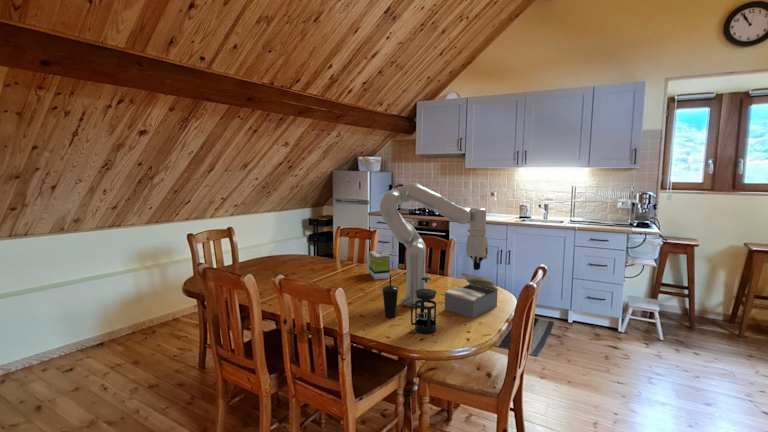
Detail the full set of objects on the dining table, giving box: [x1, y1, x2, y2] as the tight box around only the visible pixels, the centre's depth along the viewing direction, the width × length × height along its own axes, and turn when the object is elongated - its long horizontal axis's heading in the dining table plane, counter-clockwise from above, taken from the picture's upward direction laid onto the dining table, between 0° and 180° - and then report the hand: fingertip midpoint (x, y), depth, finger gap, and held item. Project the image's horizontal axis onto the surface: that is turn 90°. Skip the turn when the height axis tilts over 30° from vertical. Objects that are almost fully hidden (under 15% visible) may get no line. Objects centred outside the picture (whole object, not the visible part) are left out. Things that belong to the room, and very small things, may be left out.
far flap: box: [461, 272, 499, 292], centre depth 207 cm, size 11×16×1 cm
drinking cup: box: [381, 274, 400, 319], centre depth 191 cm, size 8×8×20 cm
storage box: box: [444, 283, 498, 319], centre depth 203 cm, size 22×16×8 cm
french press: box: [410, 276, 437, 335], centre depth 175 cm, size 12×9×23 cm
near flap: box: [444, 285, 486, 301], centre depth 198 cm, size 11×16×1 cm
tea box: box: [368, 250, 391, 280], centre depth 259 cm, size 15×10×15 cm, turn 17°
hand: (476, 269), depth 203 cm, fingers closed
